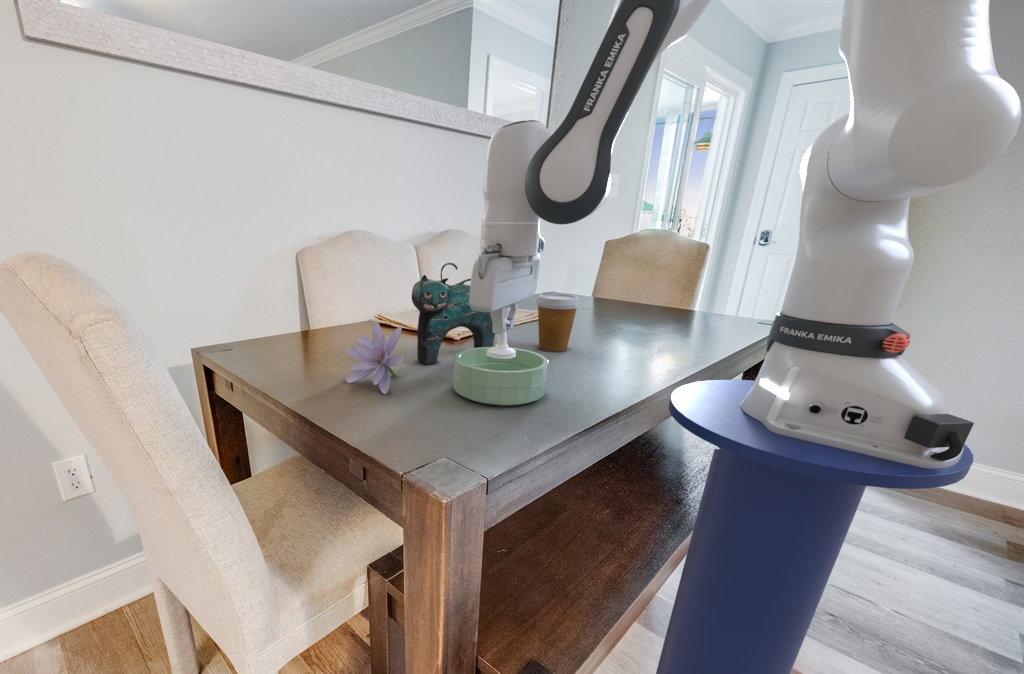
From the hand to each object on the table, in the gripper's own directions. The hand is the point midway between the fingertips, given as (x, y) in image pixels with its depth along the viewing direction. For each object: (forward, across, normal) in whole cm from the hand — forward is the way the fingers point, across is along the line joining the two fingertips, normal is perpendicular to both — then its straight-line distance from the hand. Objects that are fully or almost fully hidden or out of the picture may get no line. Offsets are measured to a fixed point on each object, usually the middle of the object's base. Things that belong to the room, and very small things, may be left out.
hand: (502, 331), depth 76 cm
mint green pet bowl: (+11, 0, 0) cm, 11 cm away
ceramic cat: (+11, +15, +17) cm, 25 cm away
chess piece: (+4, 0, 0) cm, 4 cm away
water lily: (+11, -8, +21) cm, 25 cm away
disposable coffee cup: (+11, +34, +1) cm, 36 cm away
